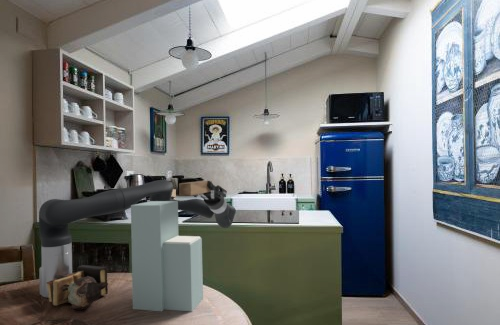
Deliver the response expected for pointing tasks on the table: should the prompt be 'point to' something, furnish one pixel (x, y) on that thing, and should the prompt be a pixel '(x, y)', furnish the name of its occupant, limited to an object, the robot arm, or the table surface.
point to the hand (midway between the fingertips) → (202, 183)
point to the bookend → (79, 287)
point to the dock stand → (164, 260)
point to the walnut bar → (193, 188)
